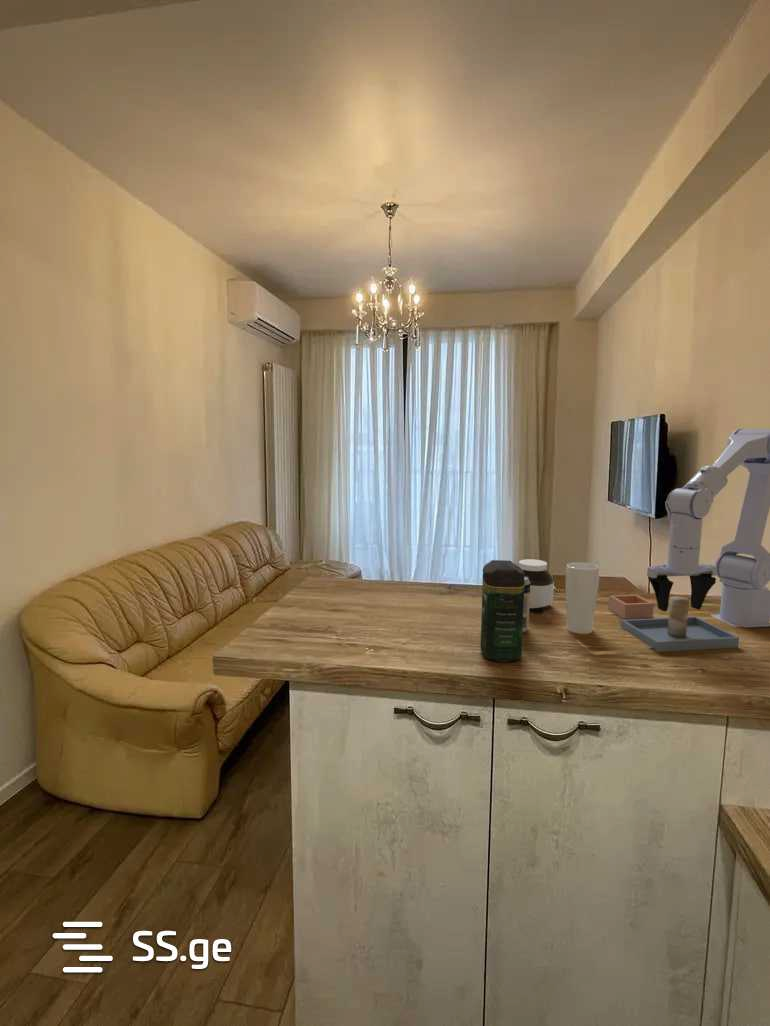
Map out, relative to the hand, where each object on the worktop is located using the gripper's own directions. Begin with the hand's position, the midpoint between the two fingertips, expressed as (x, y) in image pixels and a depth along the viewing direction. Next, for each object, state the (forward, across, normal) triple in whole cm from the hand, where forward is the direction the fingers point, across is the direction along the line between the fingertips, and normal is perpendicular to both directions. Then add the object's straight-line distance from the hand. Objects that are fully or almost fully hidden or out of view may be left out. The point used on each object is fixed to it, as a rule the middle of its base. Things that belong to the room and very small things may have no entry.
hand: (679, 608), depth 116 cm
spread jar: (+7, +25, -23) cm, 35 cm away
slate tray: (+6, 0, 0) cm, 6 cm away
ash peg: (+6, 0, 0) cm, 6 cm away
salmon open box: (+6, +2, -14) cm, 16 cm away
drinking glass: (+7, +19, -6) cm, 21 cm away
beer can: (+7, +32, -9) cm, 34 cm away
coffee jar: (+7, +40, +3) cm, 41 cm away
